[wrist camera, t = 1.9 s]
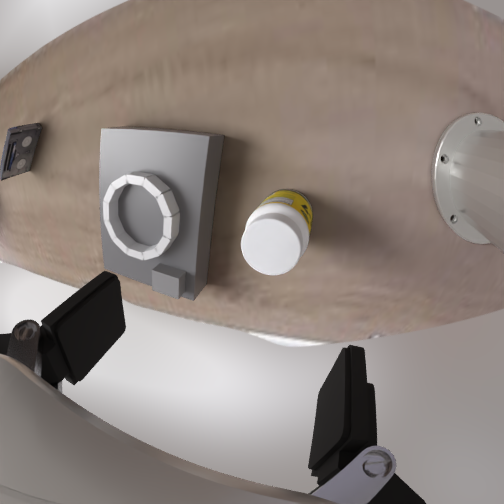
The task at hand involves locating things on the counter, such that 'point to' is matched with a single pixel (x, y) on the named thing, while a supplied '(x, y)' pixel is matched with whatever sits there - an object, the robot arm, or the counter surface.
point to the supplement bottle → (277, 232)
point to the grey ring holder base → (159, 205)
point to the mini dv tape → (19, 150)
